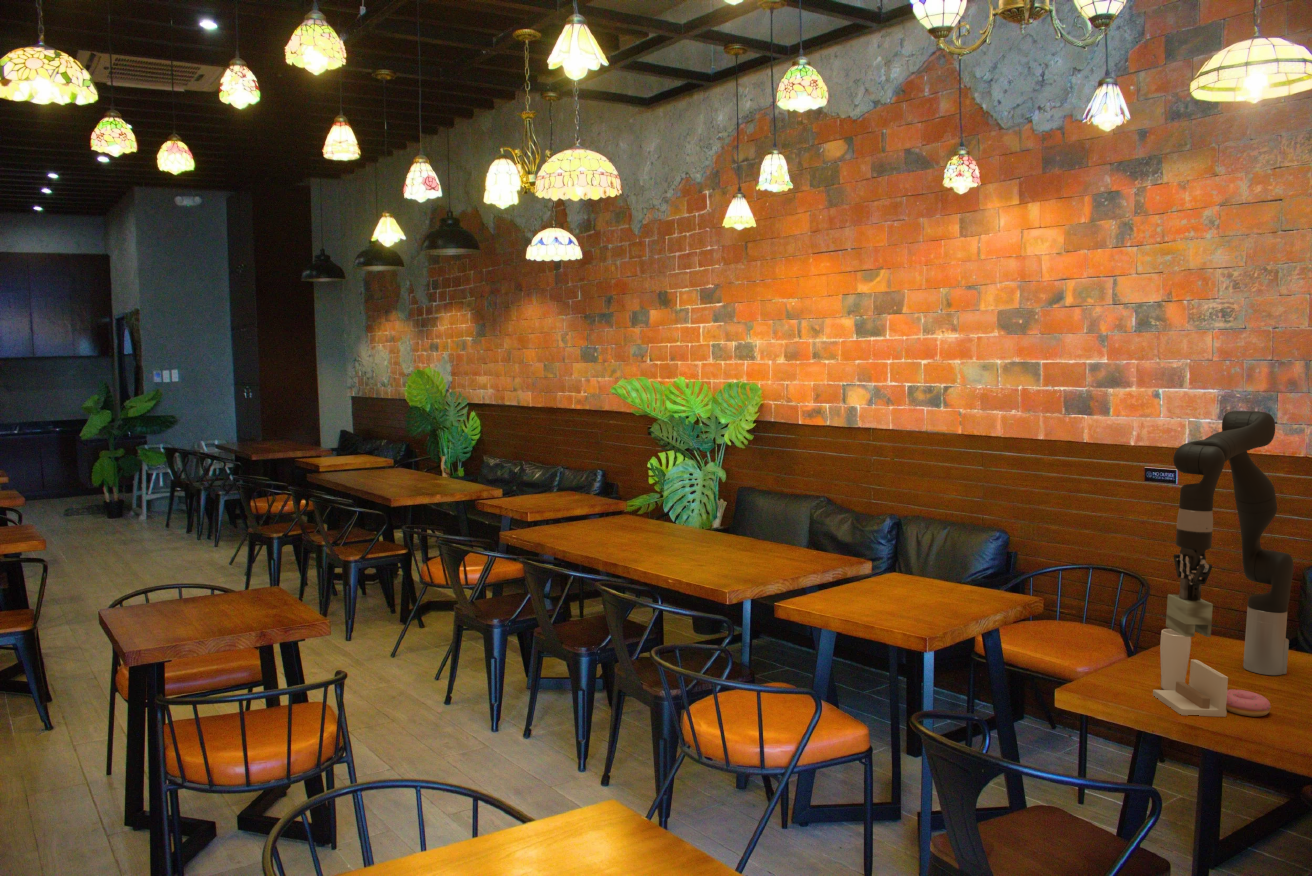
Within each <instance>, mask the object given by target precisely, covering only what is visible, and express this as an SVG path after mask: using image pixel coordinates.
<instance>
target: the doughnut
mask: <svg viewBox="0 0 1312 876" xmlns="http://www.w3.org/2000/svg"><path fill="white" fill-rule="evenodd" d="M1271 707H1272V705H1271V703H1270V701H1269V699H1268V698H1267V697H1265V696H1263V695H1261V694H1259V693H1256V692H1253V691H1249V690H1246V689H1245V690H1244V689H1237V688H1234V689H1232V688H1231V689H1227V701H1226V710H1227V712H1229V713H1232V714H1236V715H1240V716H1244V717H1264V716H1266V715H1268V714H1269V713H1270V710H1271Z"/></svg>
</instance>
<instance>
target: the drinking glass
mask: <svg viewBox="0 0 1312 876" xmlns="http://www.w3.org/2000/svg"><path fill="white" fill-rule="evenodd" d="M1159 644H1160V645H1159V647H1160V649H1159V650H1160V651H1159V653H1160V687H1161V690H1176V682H1184V683H1186V677H1187V672H1188V668H1189V667H1188V666H1189V660H1190V654H1191V647H1192V637H1185V636H1183V635H1181V634H1179V633H1177V632H1176V631H1174V630H1172V629H1170V628H1164V629H1161V633H1160V643H1159Z"/></svg>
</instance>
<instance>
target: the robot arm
mask: <svg viewBox="0 0 1312 876" xmlns="http://www.w3.org/2000/svg"><path fill="white" fill-rule="evenodd" d="M1275 433H1276V423H1275V419H1274V417H1273V416H1272V414H1270V413H1268V412H1265V411H1258V410H1256V411H1255V410H1251V411H1249V410H1233V411H1228V412H1226V413H1225V414H1224V416H1223V418H1222V422H1221V431H1218V432H1216V433H1213V434H1211V435H1210V436H1208V437H1206V438H1204V439H1198V440H1194V441H1190V442H1186V443H1183V444H1182V445H1180V446H1179V447H1177V449H1176V450H1175V452H1174V455H1173V457H1172V459H1173V460H1172V461H1173V465H1174V467H1175V468H1176V469H1177V470H1178V471H1179V472H1181V473H1183V474H1187V475H1189V474H1190V475H1199V476H1202V478H1201V480H1200V481H1199V482H1197V483H1187V484H1184V485H1182V486H1181V487H1180V490H1179V491H1180V492H1179V504H1178V505H1179V508H1178V514H1177V519H1176V531H1175V532H1176V535H1175V545H1176V546H1177V547H1178V548H1180V549H1179V550H1180V551H1179V553H1177V554H1176V553H1175V554H1173V557H1172V558H1173V561H1174V566H1175V571H1176V575H1177V579H1181V578H1189V579H1188V583H1189V585H1188V600H1190V601H1197V600H1198V594H1199V585H1201V586H1202V585H1206V583H1207V581H1208V578H1209V576H1210V573H1211V572H1212V569H1213V564H1211V563H1207V556H1206V551H1208V550H1211V548H1212V544H1213V543H1212V542H1213V541H1212V540H1213V528H1214V515H1213V513H1214V512H1213V507H1214V495H1215V491H1216V488H1217V485H1218V481H1219V480H1220V477H1221V473H1222V471H1223V470H1224V466H1225V464H1226V463H1225V462H1227V461H1229V465H1230V470H1231V475H1232V477H1231V478H1232V482H1233V483H1232V485H1233V492H1234V498H1235V505H1236V509H1237V510H1236V511H1237V515H1238V521H1239V527H1240V528H1239V530H1240V535H1241V553H1242V555H1241V556H1242V557H1241V558H1242V568H1243V572H1244V575H1245V577H1246V579H1248V580H1249V581H1251V582H1255V583H1259V584H1265V585H1271V588H1270V591H1268V592H1266V593H1260V594H1253V595H1250V596H1248V600H1247V609H1246V623H1245V624H1246V626H1245V635H1244V636H1245V637H1244V638H1245V639H1244V650H1243V651H1244V652H1243V663H1242V664H1243V666H1242V667H1243V669H1244V670H1247V671H1248V672H1252V673H1255V674H1259V675H1265V676H1281V675H1287V671H1288V658H1289V646H1290V645H1289V644H1290V640H1289V639H1288V638H1286V637H1287V636H1286V635H1287V625H1288V624H1287V620H1288V610H1289V609H1288V608H1289V602H1290V600H1291V599H1290V597H1291V590H1292V583H1293V582H1292V581H1293V575H1294V560H1293V557H1292V556H1291V554H1289V553H1286V552H1282V551H1276V550H1270V549H1265V548H1264V549H1263V548H1262V546H1261V537H1262V535H1263V533H1264V532H1265V530H1266V528H1267V527H1268V526H1269V525H1270V524H1271V522H1272V521H1273V520H1274V518H1275V516H1276V514H1277V511H1278V504H1277V503H1278V502H1277V495H1276V490H1275V489H1276V488H1275V486H1274V484H1273V483H1272V481H1271V480H1270V478H1268V476H1267V475H1266V474H1265V473H1264V472H1263V470H1261V469H1260V468H1259V466H1257V465H1256V464H1255V462H1254V461H1253V460H1252V458H1251V457H1250V455H1249V453H1248V451H1250V450H1253V449H1255V450H1256V449H1257V448H1258V449H1259V448H1263V447H1267V446H1268V445H1270V444H1271V443H1272V441H1273V440H1274V437H1275V436H1276V435H1275Z"/></svg>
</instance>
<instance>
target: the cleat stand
mask: <svg viewBox="0 0 1312 876" xmlns="http://www.w3.org/2000/svg"><path fill="white" fill-rule="evenodd" d="M1228 683H1229V677H1228V676H1226V675H1225V674H1223V673H1221V672H1219V671H1218V670H1216V669H1214V668H1213V667H1210V666H1209V665H1207V664H1205V663H1204V662H1202V661H1200V660H1198V659H1190V667H1189V681H1188V684H1187V683H1186V682H1185V683H1184V682H1176V690H1164V689H1153V690H1152V696H1153V697H1154V696H1155V697H1154V698H1156V699H1157V698H1158V699H1157V700H1158V701H1160V702H1161V703H1163V704H1164V705H1165V706H1167V707H1168V708H1170V707H1171V708H1170V709H1172V710H1173V711H1174V712H1176V713H1177V714H1179V715H1180V714H1181V715H1180V716H1188V715H1199V716H1198V717H1221V718H1224V717H1225V718H1226V717H1227V714H1228V713H1227V712H1228V711H1227V710H1226V701H1227V690H1228Z"/></svg>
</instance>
